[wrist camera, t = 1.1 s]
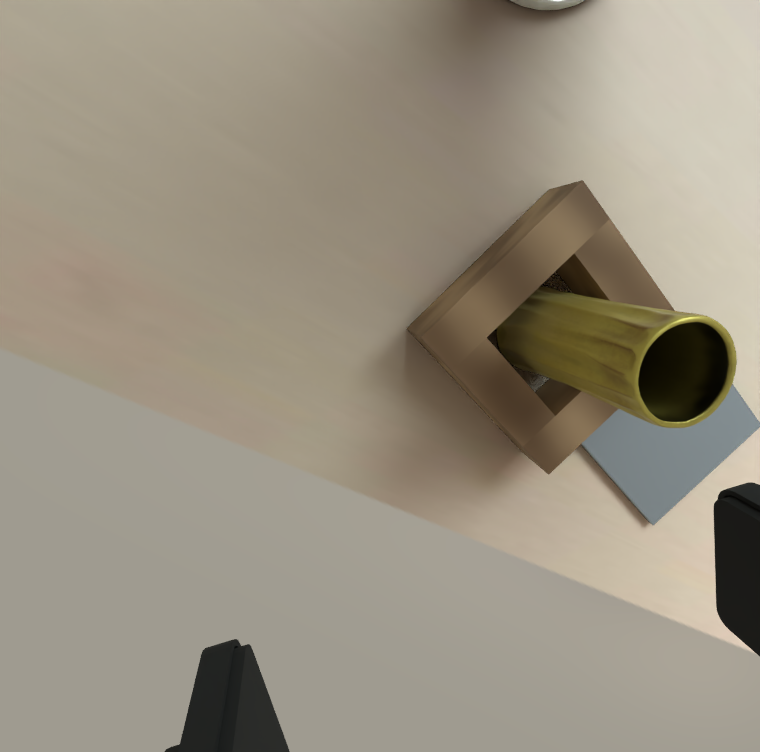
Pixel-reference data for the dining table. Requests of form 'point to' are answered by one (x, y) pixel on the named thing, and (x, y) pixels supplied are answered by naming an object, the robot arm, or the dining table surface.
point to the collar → (509, 290)
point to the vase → (624, 354)
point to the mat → (668, 453)
